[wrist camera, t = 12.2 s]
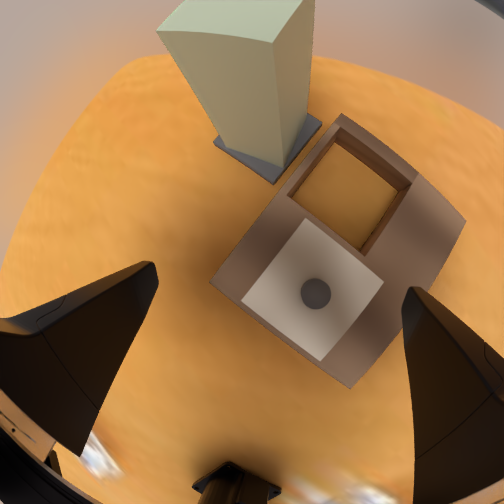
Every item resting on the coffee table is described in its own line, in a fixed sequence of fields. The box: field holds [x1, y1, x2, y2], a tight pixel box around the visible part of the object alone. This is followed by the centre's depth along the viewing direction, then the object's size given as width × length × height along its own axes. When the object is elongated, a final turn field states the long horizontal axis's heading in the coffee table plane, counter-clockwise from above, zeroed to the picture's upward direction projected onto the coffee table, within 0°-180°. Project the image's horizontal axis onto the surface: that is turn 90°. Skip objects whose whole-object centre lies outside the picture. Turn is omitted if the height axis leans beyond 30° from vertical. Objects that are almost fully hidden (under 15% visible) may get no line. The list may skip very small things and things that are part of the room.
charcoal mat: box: [213, 113, 322, 185], centre depth 18 cm, size 6×6×1 cm
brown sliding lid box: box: [209, 113, 466, 389], centre depth 16 cm, size 14×12×4 cm
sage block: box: [156, 0, 315, 168], centre depth 12 cm, size 4×4×12 cm
